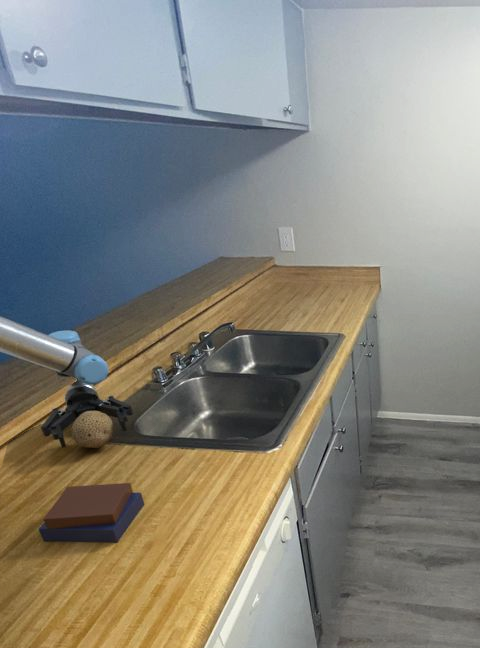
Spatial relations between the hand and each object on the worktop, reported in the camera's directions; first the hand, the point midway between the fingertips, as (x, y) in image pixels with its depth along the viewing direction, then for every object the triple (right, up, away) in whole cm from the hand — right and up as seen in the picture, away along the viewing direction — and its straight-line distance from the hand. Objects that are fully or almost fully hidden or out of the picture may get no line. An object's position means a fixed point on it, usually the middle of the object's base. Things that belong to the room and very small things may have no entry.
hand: (93, 434), depth 113 cm
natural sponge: (-2, -4, +5) cm, 7 cm away
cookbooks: (+12, -16, -17) cm, 27 cm away
